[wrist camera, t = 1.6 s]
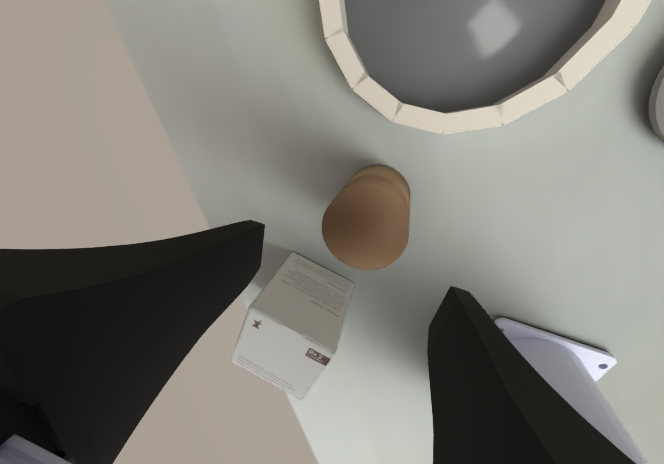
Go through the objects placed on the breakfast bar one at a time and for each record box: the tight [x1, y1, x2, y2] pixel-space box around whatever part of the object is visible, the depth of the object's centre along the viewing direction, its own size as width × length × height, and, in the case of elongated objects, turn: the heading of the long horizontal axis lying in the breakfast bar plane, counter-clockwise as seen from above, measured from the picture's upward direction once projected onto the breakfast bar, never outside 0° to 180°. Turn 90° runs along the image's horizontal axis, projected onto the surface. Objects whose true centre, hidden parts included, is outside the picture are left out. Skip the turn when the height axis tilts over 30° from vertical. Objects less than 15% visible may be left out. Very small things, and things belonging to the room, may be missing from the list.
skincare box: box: [230, 252, 355, 400], centre depth 21 cm, size 6×6×7 cm
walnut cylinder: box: [322, 165, 410, 270], centre depth 16 cm, size 4×4×6 cm
